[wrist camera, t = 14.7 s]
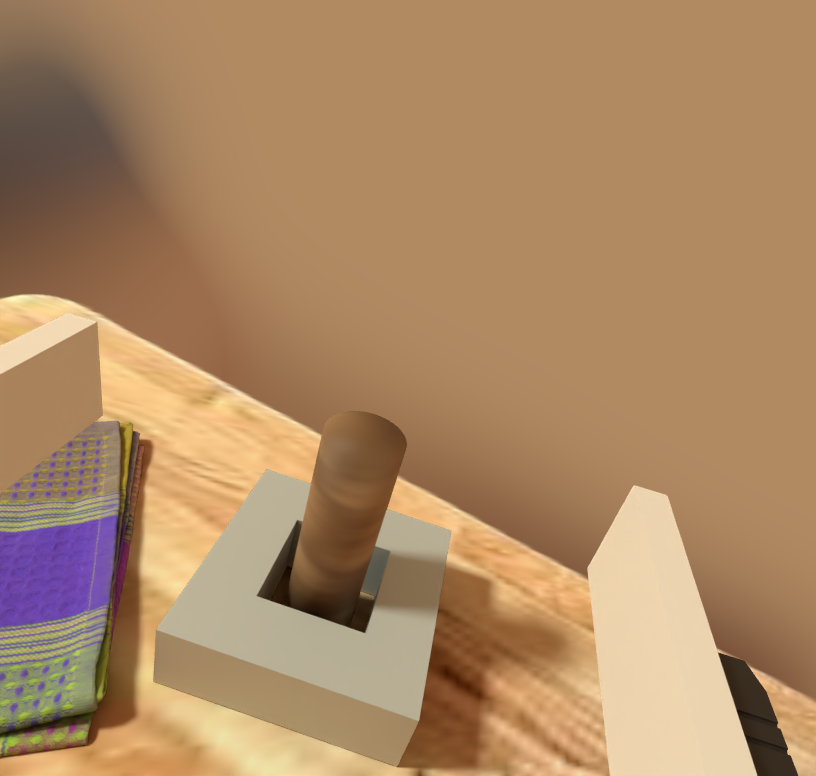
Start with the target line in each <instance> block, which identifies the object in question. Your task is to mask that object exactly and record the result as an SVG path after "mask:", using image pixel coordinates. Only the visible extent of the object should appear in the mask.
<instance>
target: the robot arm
mask: <svg viewBox="0 0 816 776" xmlns="http://www.w3.org/2000/svg"><path fill="white" fill-rule="evenodd" d="M101 416H103V412H102V395H101V377H100V360H99V343H98V326H97V322H96V321H93V320H89V319H86V318H83V317H80V316H76V315H73V314H70V313H67V314H65V315H63V316H61V317H59V318H56V319H54V320H52V321H50V322H48V323H46V324H44V325H42V326H40V327H38V328H36V329H34V330H32V331H30V332H28V333H26V334H24V335H22V336H20V337H17V338H15V339H13V340H11V341H9V342H7V343H5V344H3V345H1V346H0V494H1V493H2V492H3V491H5V490H6V489H7V488H8V487H10V486H11V485H12V484H14V483H15V482H16V481H18V480H19V479H20V478H22V477H23V476H24V475H26V474H27V473H28V472H29V471H31V470H32V469H33V468H35V467H36V466H37V465H39V464H40V463H41V462H43V461H44V460H45V459H46V458H48V457H49V456H50V455H52V454H53V453H54V452H56V451H57V450H58V449H60V448H61V447H62V446H63V445H65V444H66V443H67V442H69V441H70V440H71V439H73V438H74V437H75V436H77V435H78V434H79V433H81V432H82V431H83V430H84V429H86V428H87V427H88V426H90V425H91V424H92V423H94V422H95V421H96V420H98V419H99V418H100V417H101ZM588 577H589V587H590V596H591V605H592V614H593V624H594V633H595V642H596V651H597V660H598V670H599V679H600V688H601V697H602V707H603V716H604V725H605V734H606V744H607V753H608V762H609V771H610V776H798V774H797V771H796V768H795V766H794V763H793V761H792V758H791V756H790V755H788V754H787V750H788V747H787V745H786V742H785V740H784V737H783V734H782V732H781V729H779V728H777V724H778V721H777V719H776V716H775V713H774V711H773V708H772V706H771V703H770V700H769V698H768V695H767V692H766V691H765V689H764V688H763V686H762V685H761V684H760V682H759V681H758V679H757V678H756V676H755V675H754V674H753V672H752V671H751V669H750V668H749V667H748V665H747V664H746V662H745V661H743V660H740V659H737V658H734V657H730V656H727V655H724V654H721V653H718V652H717V649H716V646H715V642H714V640H713V636H712V633H711V630H710V627H709V624H708V621H707V618H706V615H705V611H704V608H703V605H702V602H701V599H700V596H699V593H698V590H697V586H696V583H695V580H694V577H693V574H692V571H691V568H690V565H689V562H688V559H687V556H686V552H685V549H684V546H683V543H682V540H681V537H680V534H679V531H678V528H677V524H676V521H675V518H674V515H673V512H672V509H671V506H670V503H669V500H668V496H667V495H664V494H661V493H657V492H654V491H651V490H648V489H645V488H641V487H638V486H635V485H634V486H633V488H632V489H631V491H630V493H629V495H628V497H627V498H626V500H625V502H624V504H623V505H622V507H621V509H620V511H619V513H618V514H617V516H616V518H615V520H614V522H613V524H612V525H611V527H610V529H609V531H608V532H607V534H606V536H605V538H604V540H603V541H602V543H601V545H600V547H599V549H598V550H597V552H596V554H595V556H594V558H593V559H592V561H591V563H590V565H589V566H588Z"/></svg>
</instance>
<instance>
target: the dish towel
mask: <svg viewBox="0 0 816 776" xmlns="http://www.w3.org/2000/svg"><path fill="white" fill-rule="evenodd" d="M139 435H140V433H138V432H136V431H133V424H132V423H131V422H126V423H119V421H107V422H94V423H92V424H91V425H90V426H88V427H87V428H86V429H84V430H83V431H82V432H81V433H79V434H78V435H77V436H75V437H74V438H73V439H71V440H70V441H69V442H67V443H66V444H65V445H63V446H62V447H61V448H60V449H58V450H57V451H56V452H54V453H53V454H52V455H50V456H49V457H48V458H46V459H45V460H44V461H43V462H41V463H40V464H39V465H37V466H36V467H35V468H33V469H32V470H31V471H29V472H28V473H27V474H26V475H24V476H23V477H22V478H20V479H19V480H18V481H16V482H15V483H14V484H12V485H11V486H10V487H8V488H7V489H6V490H5V491H3V492H2V493H1V494H0V756H8V755H15V754H21V753H27V752H37V751H42V750H51V749H61V748H68V747H73V746H80V745H85V744H87V743H88V741H89V739H88V732H89V729H90V727H91V721H92V718H93V713H94V711H95V710H97V708H98V703H99V702H100V701H102V699H103V697H104V695H105V694H106V690H107V678H108V663H109V652H110V647H111V640H112V634H113V627H114V621H115V617H116V613H117V608H118V604H119V599H120V594H121V591H122V587H123V581H124V577H125V571H126V567H127V560H128V555H129V548H130V543H131V538H132V534H133V525H134V516H135V507H136V502H137V496H138V492H139V485H140V477H141V469H142V456H143V454H144V449H145V447H144V446H141V445H139Z"/></svg>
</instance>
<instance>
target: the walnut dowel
mask: <svg viewBox="0 0 816 776" xmlns="http://www.w3.org/2000/svg"><path fill="white" fill-rule="evenodd" d="M406 447H407V442H406V438H405V436H404V434H403V433H402V432H401V430H400V429H399V428H398V427H397V426H395V425H394V424H393V423H391V422H390V421H388V420H386V419H385V418H382V417H380V416H378V415H374V414H371V413H367V412H360V411H348V412H342V413H338V414H336V415H334V416H332V417H330V418H329V419H328V420H327V421H326V423H325V425H324V428H323V433H322V437H321V442H320V446H319V451H318V455H317V460H316V464H315V469H314V473H313V478H312V482H311V487H310V491H309V496H308V500H307V505H306V509H305V514H304V518H303V523H302V527H301V532H300V536H299V540H298V545H297V549H296V554H295V558H294V563H293V567H292V572H291V576H290V581H289V585H288V590H287V594H286V599H285V603H284V606H287V607H290V608H293V609H296V610H298V611H301V612H304V613H307V614H310V615H313V616H316V617H319V618H322V619H325V620H328V621H331V622H334V623H336V624H339V625H342V626H345V627H348V628H349V626H350V623H351V620H352V617H353V614H354V610H355V607H356V604H357V601H358V598H359V595H360V592H361V588H362V585H363V582H364V579H365V576H366V573H367V570H368V567H369V563H370V560H371V557H372V554H373V551H374V548H375V545H376V542H377V538H378V535H379V532H380V529H381V526H382V523H383V520H384V516H385V513H386V510H387V507H388V504H389V501H390V498H391V495H392V491H393V488H394V485H395V482H396V479H397V476H398V473H399V469H400V466H401V463H402V460H403V457H404V454H405V451H406Z"/></svg>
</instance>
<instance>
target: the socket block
mask: <svg viewBox="0 0 816 776" xmlns="http://www.w3.org/2000/svg"><path fill="white" fill-rule="evenodd" d="M310 487H311V484H310V483H307V482H304V481H301V480H298V479H295V478H292V477H289V476H286V475H283V474H280V473H277V472H274V471H271V470H268V469H266V470H265V472H264V473H263V475H262V476H261V478H260V479H259V481H258V482H257V484H256V485H255V486H254V488H253V489H252V491H251V492H250V494H249V495H248V497H247V498H246V500H245V501H244V502H243V504H242V505H241V507H240V508H239V510H238V511H237V513H236V514H235V516H234V517H233V518H232V520H231V521H230V523H229V524H228V526H227V527H226V529H225V530H224V532H223V533H222V535H221V536H220V537H219V539H218V540H217V542H216V543H215V545H214V546H213V548H212V549H211V551H210V552H209V553H208V555H207V556H206V558H205V559H204V561H203V562H202V564H201V565H200V567H199V568H198V569H197V571H196V572H195V574H194V575H193V577H192V578H191V580H190V581H189V583H188V584H187V585H186V587H185V588H184V590H183V591H182V593H181V594H180V596H179V597H178V599H177V600H176V601H175V603H174V604H173V606H172V607H171V609H170V610H169V612H168V613H167V615H166V616H165V617H164V619H163V620H162V622H161V623H160V625H159V626H158V628H157V629H156V639H155V658H154V677H153V681H154V682H157V683H159V684H162V685H165V686H168V687H171V688H174V689H176V690H179V691H182V692H185V693H188V694H191V695H194V696H196V697H199V698H202V699H205V700H208V701H211V702H214V703H216V704H219V705H222V706H225V707H228V708H231V709H234V710H236V711H239V712H242V713H245V714H248V715H251V716H253V717H256V718H259V719H262V720H265V721H268V722H271V723H273V724H276V725H279V726H282V727H285V728H288V729H291V730H293V731H296V732H299V733H302V734H305V735H308V736H310V737H313V738H316V739H319V740H322V741H325V742H328V743H330V744H333V745H336V746H339V747H342V748H345V749H348V750H350V751H353V752H356V753H359V754H362V755H365V756H368V757H370V758H373V759H376V760H379V761H382V762H385V763H387V764H390V765H393V766H396V767H397V766H398V764H399V762H400V760H401V758H402V756H403V754H404V751H405V749H406V747H407V745H408V743H409V741H410V739H411V737H412V735H413V733H414V731H415V728H416V726H417V724H418V722H419V718H420V713H421V707H422V701H423V695H424V689H425V683H426V677H427V671H428V666H429V660H430V654H431V648H432V642H433V636H434V630H435V625H436V619H437V613H438V607H439V601H440V595H441V589H442V584H443V578H444V572H445V566H446V560H447V554H448V548H449V542H450V537H451V530H448V529H445V528H442V527H439V526H436V525H433V524H430V523H427V522H424V521H421V520H418V519H415V518H412V517H409V516H406V515H403V514H400V513H397V512H394V511H391V510H388V509H387V510H386V513H385V516H384V520H383V523H382V526H381V529H380V532H379V535H378V538H377V542H376V545H375V548H374V551H373V554H372V557H371V560H370V563H369V567H368V570H367V573H366V576H365V579H364V582H363V585H362V588H361V591H362V592H365V593H368V594H371V595H374V596H375V598H374V602H373V605H372V608H371V612H370V615H369V618H368V622H367V625H366V628H365V632H364V633H363V632H360V631H357V630H354V629H351V628H348V627H345V626H342V625H339V624H336V623H334V622H331V621H328V620H325V619H322V618H319V617H316V616H313V615H310V614H307V613H304V612H301V611H298V610H296V609H293V608H290V607H287V606H284V605H281V604H278V603H275V602H272V601H270V599H271V597H272V595H273V593H274V591H275V589H276V587H277V585H278V583H279V581H280V579H281V577H282V575H283V573H284V571H285V569H286V567H287V566H289V567H293V563H294V558H295V554H296V549H297V545H298V540H299V536H300V532H301V527H302V523H303V518H304V514H305V509H306V505H307V500H308V496H309V491H310Z"/></svg>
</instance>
